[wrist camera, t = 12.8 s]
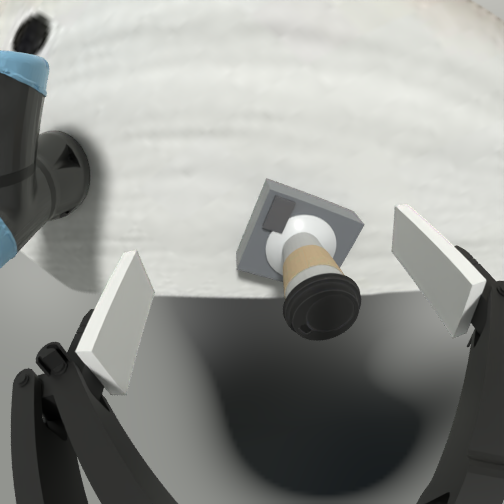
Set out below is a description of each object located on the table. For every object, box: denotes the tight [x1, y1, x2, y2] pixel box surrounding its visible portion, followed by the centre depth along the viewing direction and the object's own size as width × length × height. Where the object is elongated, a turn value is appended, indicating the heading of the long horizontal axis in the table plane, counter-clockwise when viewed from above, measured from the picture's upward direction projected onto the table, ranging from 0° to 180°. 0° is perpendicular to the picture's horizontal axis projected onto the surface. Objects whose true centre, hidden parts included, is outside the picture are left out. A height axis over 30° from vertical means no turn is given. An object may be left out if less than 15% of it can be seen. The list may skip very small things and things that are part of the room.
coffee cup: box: [282, 232, 361, 340], centre depth 39 cm, size 9×9×15 cm
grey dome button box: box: [236, 178, 364, 282], centre depth 47 cm, size 16×14×6 cm
